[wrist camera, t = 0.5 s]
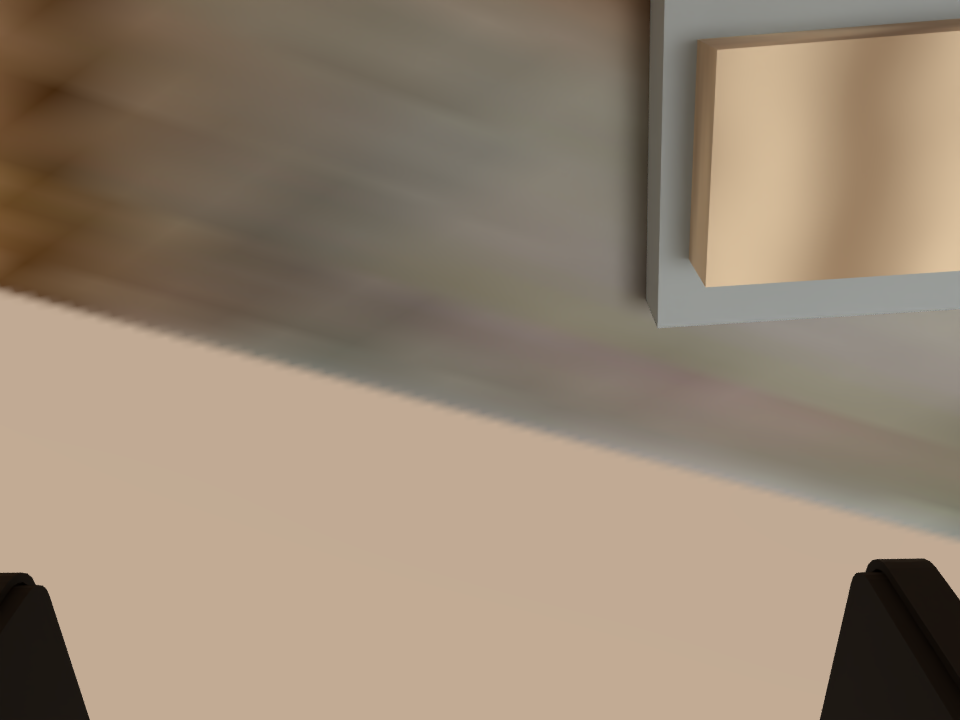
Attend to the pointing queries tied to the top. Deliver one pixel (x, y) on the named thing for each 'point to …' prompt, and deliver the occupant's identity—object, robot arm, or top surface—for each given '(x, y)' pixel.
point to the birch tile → (827, 154)
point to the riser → (672, 81)
